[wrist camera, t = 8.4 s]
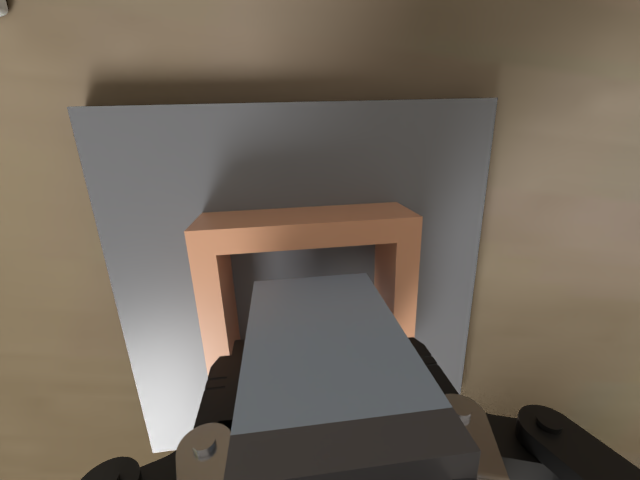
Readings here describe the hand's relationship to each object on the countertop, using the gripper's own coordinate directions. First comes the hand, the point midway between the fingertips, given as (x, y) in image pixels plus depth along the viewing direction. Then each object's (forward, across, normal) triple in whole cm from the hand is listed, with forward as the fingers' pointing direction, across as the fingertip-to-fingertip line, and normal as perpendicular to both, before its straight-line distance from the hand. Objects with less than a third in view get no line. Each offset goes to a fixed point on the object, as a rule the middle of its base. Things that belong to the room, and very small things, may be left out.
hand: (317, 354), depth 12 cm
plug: (+2, 0, 0) cm, 2 cm away
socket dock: (+6, 0, 0) cm, 6 cm away
